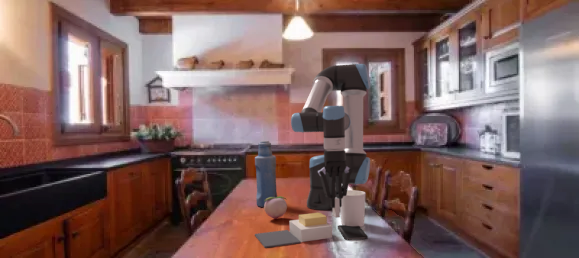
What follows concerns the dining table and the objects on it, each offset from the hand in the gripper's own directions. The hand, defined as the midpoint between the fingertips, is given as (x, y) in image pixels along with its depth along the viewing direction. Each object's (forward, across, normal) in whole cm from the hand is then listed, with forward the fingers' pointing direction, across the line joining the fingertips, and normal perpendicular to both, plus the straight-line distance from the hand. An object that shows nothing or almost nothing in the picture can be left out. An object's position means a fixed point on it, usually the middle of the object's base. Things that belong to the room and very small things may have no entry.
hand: (336, 216), depth 136 cm
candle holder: (+6, +9, +5) cm, 12 cm away
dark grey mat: (+5, -22, 0) cm, 23 cm away
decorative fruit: (+6, -15, +24) cm, 29 cm away
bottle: (+5, -12, +50) cm, 52 cm away
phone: (+6, +4, -4) cm, 8 cm away
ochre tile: (+1, -9, 0) cm, 9 cm away
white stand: (+5, -10, 0) cm, 11 cm away
